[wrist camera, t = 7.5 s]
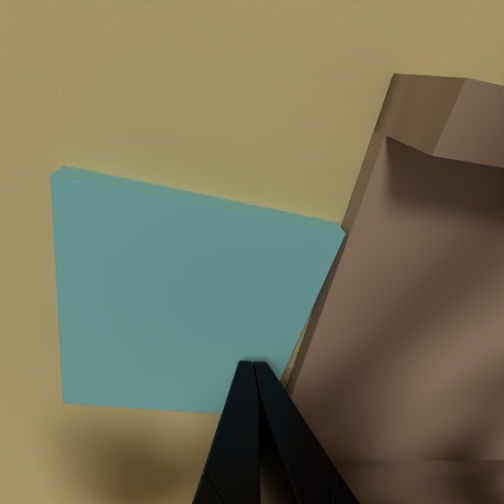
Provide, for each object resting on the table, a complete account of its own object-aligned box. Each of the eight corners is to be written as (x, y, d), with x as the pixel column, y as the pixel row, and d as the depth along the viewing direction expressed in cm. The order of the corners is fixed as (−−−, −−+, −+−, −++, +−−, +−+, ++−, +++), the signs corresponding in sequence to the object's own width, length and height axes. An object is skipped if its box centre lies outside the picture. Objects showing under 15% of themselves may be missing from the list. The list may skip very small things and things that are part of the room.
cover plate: (331, 214, 9) (345, 233, 8) (260, 389, 13) (263, 417, 12) (72, 159, 8) (50, 174, 7) (76, 373, 12) (63, 403, 11)
